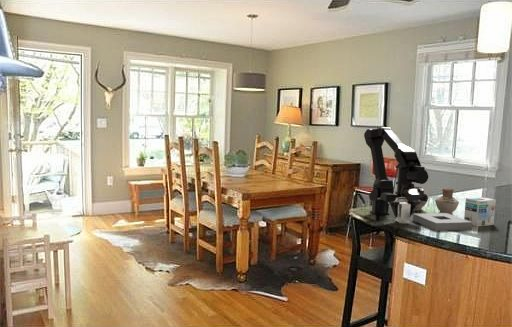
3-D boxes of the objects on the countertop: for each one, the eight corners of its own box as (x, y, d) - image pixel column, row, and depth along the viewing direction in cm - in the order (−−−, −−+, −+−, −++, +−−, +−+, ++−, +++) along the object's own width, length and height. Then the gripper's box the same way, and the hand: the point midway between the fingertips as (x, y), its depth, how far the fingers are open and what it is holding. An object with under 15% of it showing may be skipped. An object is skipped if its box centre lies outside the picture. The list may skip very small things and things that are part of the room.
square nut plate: (435, 230, 166) (436, 223, 166) (412, 220, 182) (413, 213, 181) (471, 229, 169) (472, 222, 169) (446, 219, 185) (446, 213, 185)
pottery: (453, 218, 189) (455, 191, 187) (398, 209, 205) (400, 184, 204) (461, 214, 197) (463, 189, 196) (407, 206, 213) (409, 182, 212)
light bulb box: (477, 227, 174) (479, 201, 173) (462, 223, 180) (464, 197, 179) (494, 224, 179) (496, 199, 178) (479, 221, 185) (481, 196, 184)
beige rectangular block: (400, 223, 176) (401, 204, 175) (395, 221, 180) (396, 202, 179) (409, 223, 177) (410, 204, 176) (404, 220, 181) (405, 202, 180)
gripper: (394, 183, 167) (391, 222, 169) (437, 183, 171) (434, 221, 172) (380, 179, 178) (378, 216, 179) (421, 179, 182) (418, 215, 183)
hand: (402, 217), depth 178 cm, fingers open, 6 cm apart
